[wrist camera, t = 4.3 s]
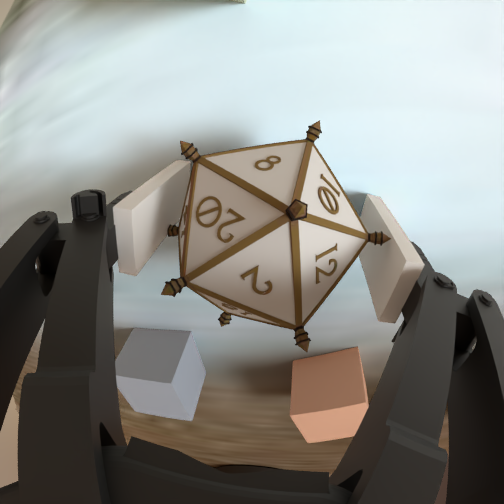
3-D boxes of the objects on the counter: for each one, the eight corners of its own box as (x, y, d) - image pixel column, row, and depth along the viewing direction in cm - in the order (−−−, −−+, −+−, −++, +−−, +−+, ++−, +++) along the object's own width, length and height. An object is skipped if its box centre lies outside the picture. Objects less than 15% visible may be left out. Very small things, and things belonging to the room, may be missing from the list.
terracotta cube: (365, 382, 23) (371, 432, 18) (309, 393, 24) (307, 443, 20) (357, 345, 20) (365, 402, 16) (292, 359, 22) (289, 415, 18)
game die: (249, 193, 20) (107, 260, 14) (303, 79, 13) (97, 107, 7) (346, 297, 17) (219, 413, 12) (447, 206, 11) (324, 380, 5)
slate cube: (206, 371, 24) (192, 421, 20) (154, 367, 25) (135, 411, 21) (191, 330, 22) (171, 383, 17) (134, 327, 22) (108, 373, 18)
